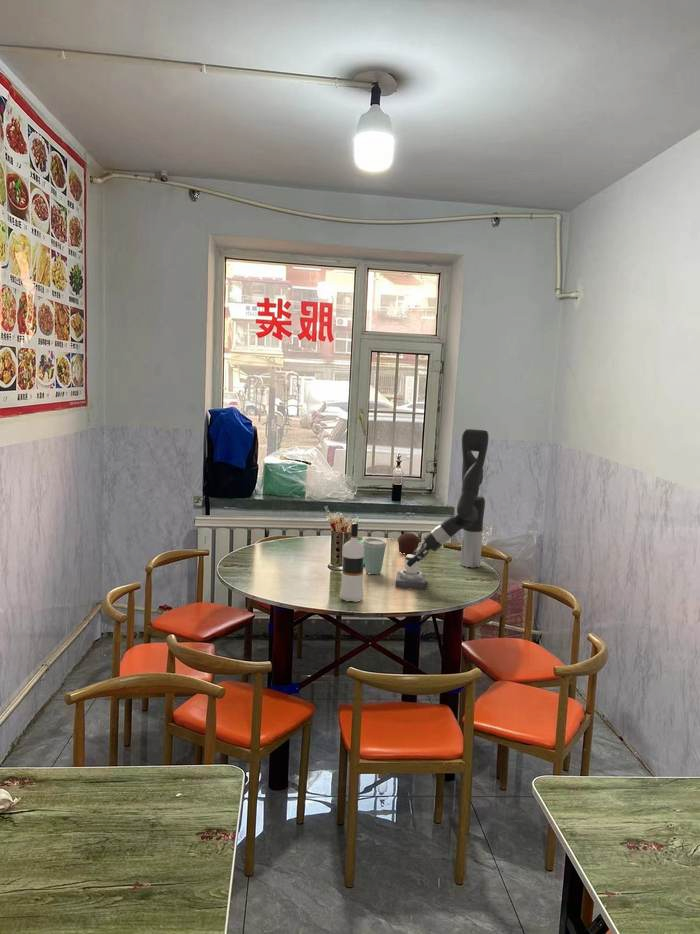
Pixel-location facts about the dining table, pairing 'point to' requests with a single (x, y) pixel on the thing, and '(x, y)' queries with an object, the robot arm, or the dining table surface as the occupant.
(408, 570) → the white banded cylinder
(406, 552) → the muffin
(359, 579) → the vodka
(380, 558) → the disposable coffee cup
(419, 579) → the grey ring holder base
